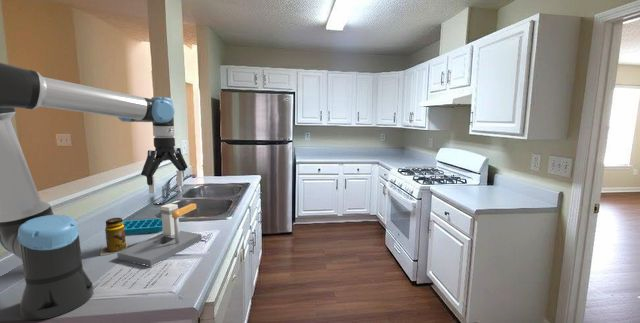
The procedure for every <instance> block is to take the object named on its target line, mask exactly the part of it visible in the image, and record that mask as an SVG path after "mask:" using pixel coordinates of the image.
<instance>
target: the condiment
mask: <svg viewBox="0 0 640 323" xmlns="http://www.w3.org/2000/svg"><path fill="white" fill-rule="evenodd" d="M104 231H105V240H106V241H105V242H106V246H105V247H101V248H100V254H99V255H100V256H104V255H111V254H116V253H118V252H120V251H122V250H125V249H127V248H128V242H127V241H126V235H125V229H124V225H123V218H122V217H112V218H108V219H106V221H105V229H104Z"/></svg>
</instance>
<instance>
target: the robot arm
mask: <svg viewBox="0 0 640 323" xmlns="http://www.w3.org/2000/svg"><path fill="white" fill-rule="evenodd" d="M40 107H42V108H50V109H57V110H64V111H72V112H80V113H87V114H94V115H100V116H107V117H108V116H109V117H115V118H117V119H118V120H119V121H121V122H126V123H135V122H136V123H152V135H153V137H154V138H153V146H154V148H155V149H154V150H151V149H149V150H147V156H146V159H145V162H144V165H143V167H142V169H141V173H140V175H141V176H144V177H146V184H147V186H148V193H149V194H156V193H157V188H156V185H157V184H156V176H154V175H155V173H156V172H157V169H158V168H159V166H160V165H161V163H163V161H164V162H165V161H170V162H171V163H172V164H173V165H174V167H175V168H176V169H177V170H176V186H177V187H184V177H185V174H184V173H185V171H186V170H187V169H188V164H187V162H186V160H185V158H184V155H183V154H182V149H181V148H180V147H176V138H175V120H174V119H175V118H174V117H175V108H174V102H173V99H172V98H171V97H166V96H165V97H162V96H153V97H151V98H148V97H142V96H138V95H135V94H134V95H133V94H129V93H123V92H118V91H114V90H109V89H104V88H99V87H94V86H91V85H90V86H89V85H84V84H80V83H74V82H70V81H65V80H61V79H56V78H51V77H50V78H49V77H44V76H42V75H41V74H40V73H39V71H35V70H32V69H28V68H22V67H18V66H15V65H11V64H6V63H3V62H0V245H1V246H2V247H3V248H4V249H5V250H6V251H7V252H9V253H12V254H13V255H15V256H16V257H18V258H19V259H20V260H21V262H22V268H23V274H24V279H25V280H24V281H25V286H24V291H23V293H22V296H21V300H20V303H19V311H20V316H21V318H23V319H25V320H28V321H29V320H30V321H34V320H35V321H36V320H37V321H39V320H46V319H50V318H54V317H57V316H60V315H63V314H66V313H68V312H71V311H74V310H75V309H77V308H79V307H81V306H82V305H84V304H86V303H87V302H88V301H89V300H90V299H91V298H92V297H93V295H94V286H93V283H92V281H91V279H90V278H89V276H88V274H87V273H86V271H85V270H84V268H83V259H82V258H83V257H82V250H81V243H80V229H79V227H78V222H77V220H76V219H75V218H73V217H71V216H69V215H66V214H65V215H64V214H62V215H59V214H54V212H53V209H52V207H51V204H50V203H48V202H45V201H43V200H41V197H40V195H39V192H38V189H37V186H36V184H35V181H34V179H33V176H32V173H31V171H30V168H29V165H28V163H27V160H26V157H25V155H24V151H23V149H22V147H21V144H20V141H19V138H18V136H17V133H16V131H15V129H14V126H13V123H12V118H13V117H14V116H15V114H16V113H17V112H16V110H15V108H18V109H25V110H36V109H37V108H40Z"/></svg>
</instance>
